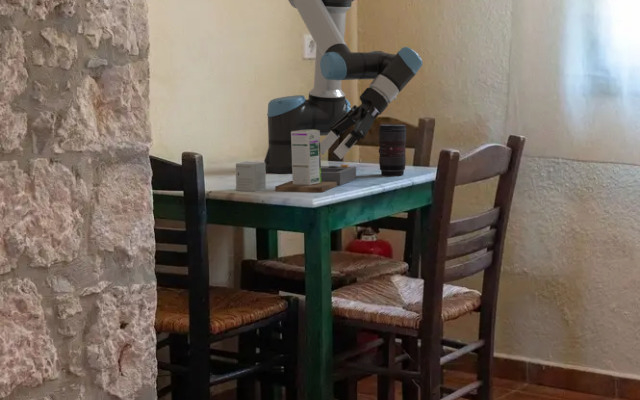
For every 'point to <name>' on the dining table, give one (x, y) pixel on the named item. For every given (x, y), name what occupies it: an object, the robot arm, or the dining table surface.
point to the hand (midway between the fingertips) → (328, 153)
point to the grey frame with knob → (338, 174)
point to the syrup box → (306, 157)
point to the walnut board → (306, 187)
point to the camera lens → (392, 149)
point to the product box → (250, 176)
